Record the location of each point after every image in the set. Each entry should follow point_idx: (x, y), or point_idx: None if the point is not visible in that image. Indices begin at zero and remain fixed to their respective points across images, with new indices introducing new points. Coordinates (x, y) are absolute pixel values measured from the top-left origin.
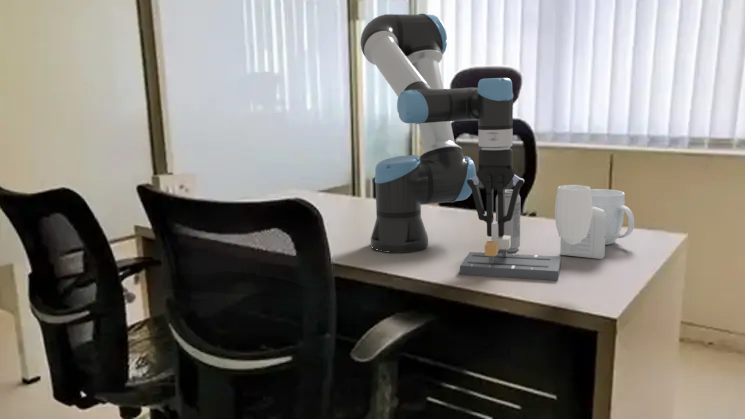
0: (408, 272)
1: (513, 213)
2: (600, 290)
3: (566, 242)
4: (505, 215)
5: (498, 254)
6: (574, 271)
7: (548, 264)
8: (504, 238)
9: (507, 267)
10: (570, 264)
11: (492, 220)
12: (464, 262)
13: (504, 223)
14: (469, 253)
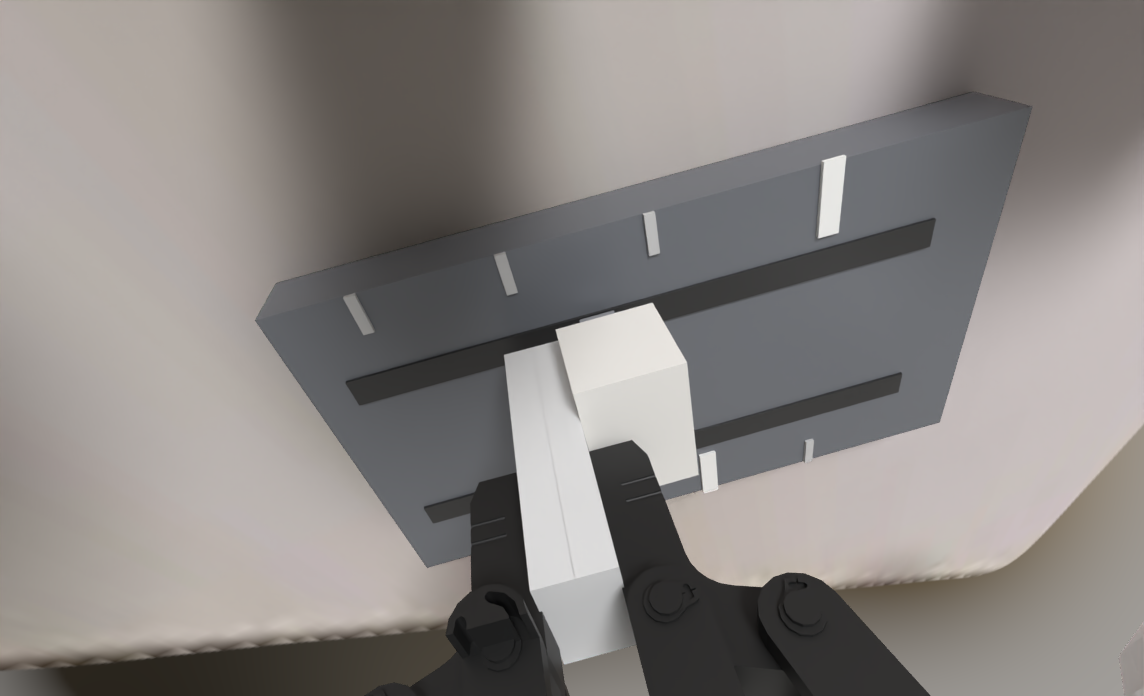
0: (171, 610)
1: (887, 657)
2: (1055, 417)
3: (1119, 660)
4: (745, 666)
5: (524, 278)
6: (1027, 206)
7: (903, 343)
8: (654, 470)
9: (679, 486)
10: (1051, 34)
11: (557, 667)
12: (411, 524)
13: (686, 555)
14: (289, 360)
